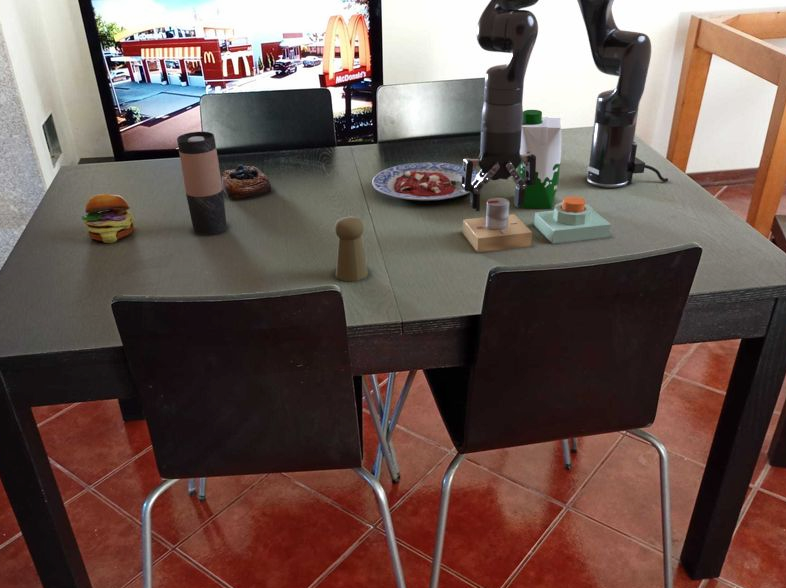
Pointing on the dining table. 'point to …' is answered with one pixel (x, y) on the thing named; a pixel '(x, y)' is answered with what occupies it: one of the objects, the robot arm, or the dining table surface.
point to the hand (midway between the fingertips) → (496, 208)
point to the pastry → (245, 183)
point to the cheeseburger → (108, 218)
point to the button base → (571, 225)
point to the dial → (497, 213)
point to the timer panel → (496, 234)
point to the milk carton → (541, 157)
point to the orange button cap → (573, 204)
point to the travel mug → (202, 182)
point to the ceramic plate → (422, 181)
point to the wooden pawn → (350, 250)
